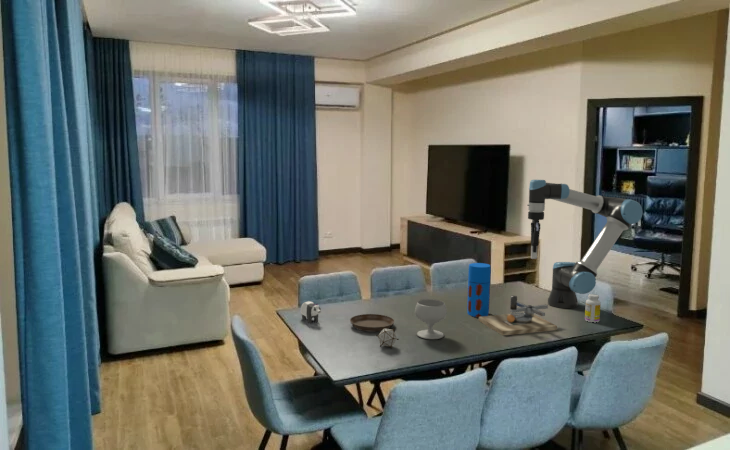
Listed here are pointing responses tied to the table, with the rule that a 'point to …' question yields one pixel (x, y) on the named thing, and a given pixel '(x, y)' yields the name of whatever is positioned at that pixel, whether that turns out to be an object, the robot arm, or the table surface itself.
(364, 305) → the table surface
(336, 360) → the table surface
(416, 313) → the chalice
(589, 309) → the supplement bottle
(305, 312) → the giant panda
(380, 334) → the game die
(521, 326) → the stand base
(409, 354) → the table surface
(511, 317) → the ball
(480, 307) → the thermos
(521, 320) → the grey cross
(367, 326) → the plant saucer
